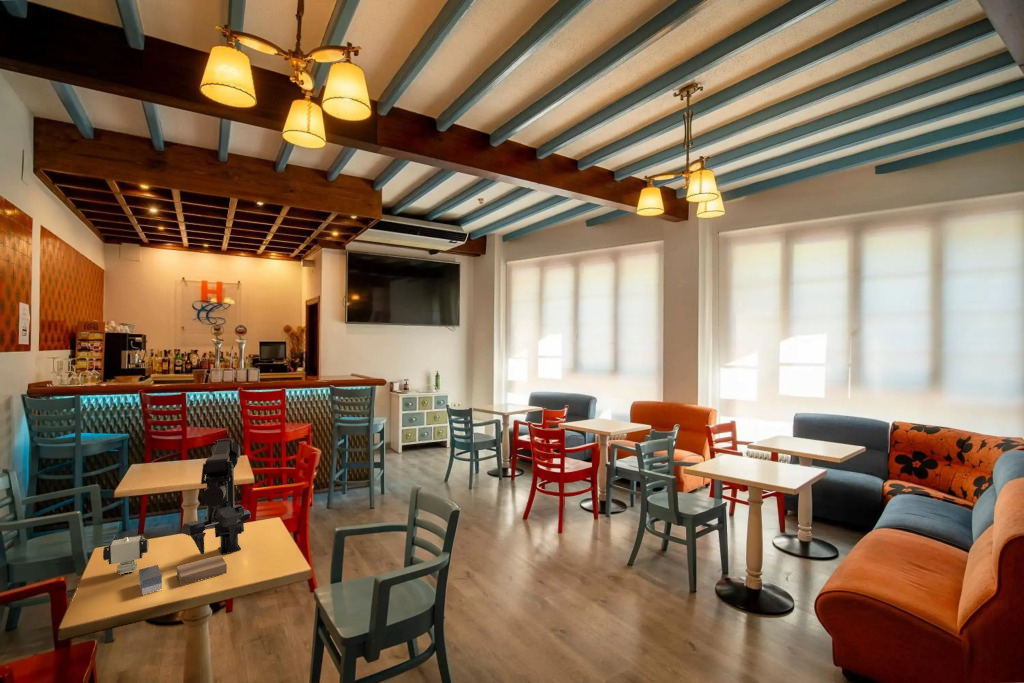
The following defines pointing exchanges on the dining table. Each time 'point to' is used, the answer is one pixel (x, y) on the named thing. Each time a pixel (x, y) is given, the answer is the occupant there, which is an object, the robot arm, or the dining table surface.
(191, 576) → the walnut stand
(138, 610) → the dining table surface
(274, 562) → the dining table surface
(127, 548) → the pneumatic valve
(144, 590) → the block
